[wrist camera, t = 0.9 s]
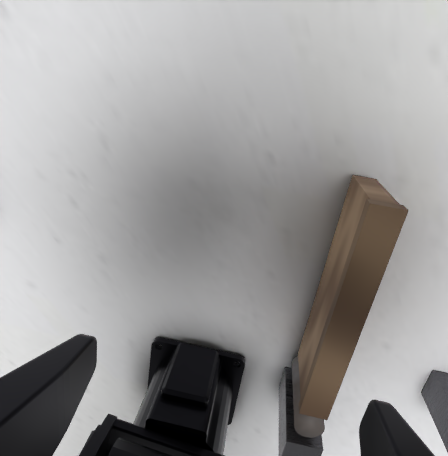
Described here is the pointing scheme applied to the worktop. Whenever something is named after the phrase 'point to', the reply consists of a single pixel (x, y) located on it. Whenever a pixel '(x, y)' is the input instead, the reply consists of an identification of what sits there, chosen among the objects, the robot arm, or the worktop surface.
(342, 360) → the gate
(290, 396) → the gate frame
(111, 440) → the robot arm
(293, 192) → the worktop surface
